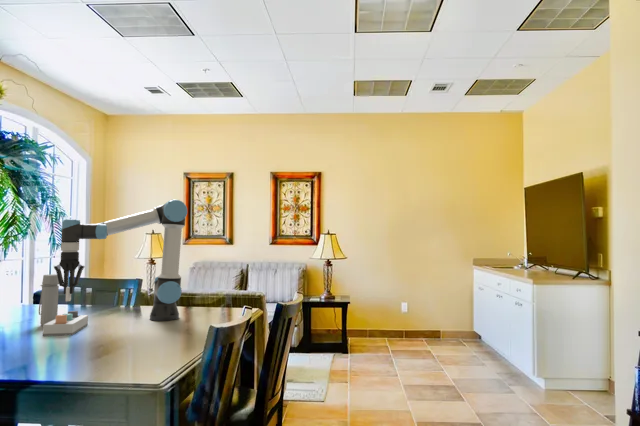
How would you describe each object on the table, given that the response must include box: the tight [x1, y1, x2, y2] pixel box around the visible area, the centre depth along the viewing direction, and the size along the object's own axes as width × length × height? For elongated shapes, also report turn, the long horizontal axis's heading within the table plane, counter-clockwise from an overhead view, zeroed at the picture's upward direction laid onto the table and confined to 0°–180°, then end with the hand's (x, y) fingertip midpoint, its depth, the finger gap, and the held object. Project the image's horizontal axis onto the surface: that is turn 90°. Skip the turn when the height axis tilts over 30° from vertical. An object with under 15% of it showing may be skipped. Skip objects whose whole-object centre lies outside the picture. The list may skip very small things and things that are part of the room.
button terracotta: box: [55, 314, 67, 324], centre depth 197 cm, size 4×4×5 cm
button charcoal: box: [67, 310, 79, 318], centre depth 212 cm, size 4×4×5 cm
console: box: [42, 314, 89, 337], centre depth 204 cm, size 12×22×5 cm, turn 12°
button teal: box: [61, 313, 73, 321], centre depth 204 cm, size 4×4×5 cm
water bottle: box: [38, 273, 60, 327], centre depth 216 cm, size 9×8×25 cm
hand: (68, 300), depth 205 cm, fingers closed
